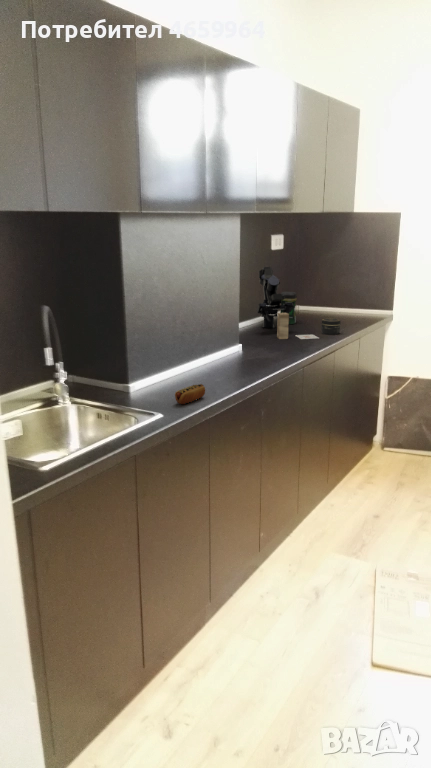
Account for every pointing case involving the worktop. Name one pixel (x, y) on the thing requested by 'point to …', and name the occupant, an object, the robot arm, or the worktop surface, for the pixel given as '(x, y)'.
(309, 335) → the card
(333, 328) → the jar
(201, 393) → the hot dog
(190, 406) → the worktop surface
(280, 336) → the oak block
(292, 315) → the coffee jar
